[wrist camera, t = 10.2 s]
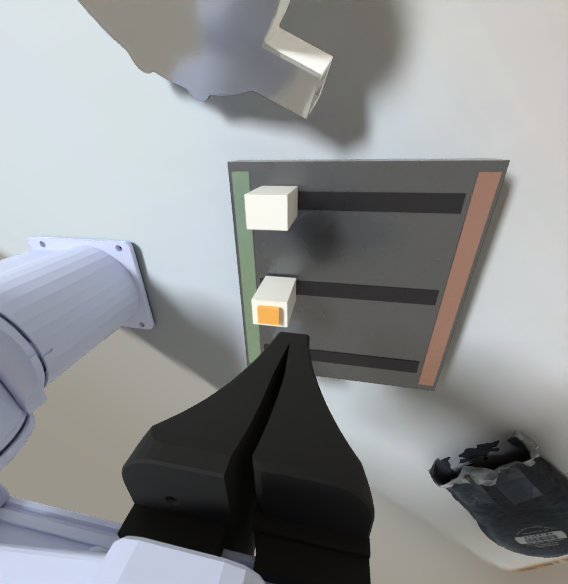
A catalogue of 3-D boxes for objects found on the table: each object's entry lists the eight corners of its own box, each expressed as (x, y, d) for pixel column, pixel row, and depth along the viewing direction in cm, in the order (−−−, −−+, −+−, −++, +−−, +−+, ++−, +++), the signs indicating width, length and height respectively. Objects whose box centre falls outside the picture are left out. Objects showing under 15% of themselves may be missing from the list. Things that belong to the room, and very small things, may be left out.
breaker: (263, 214, 16) (246, 229, 13) (262, 185, 15) (244, 194, 13) (297, 215, 16) (287, 230, 13) (297, 185, 15) (287, 195, 12)
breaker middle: (266, 297, 19) (251, 326, 16) (265, 275, 18) (249, 302, 15) (296, 299, 18) (286, 330, 15) (296, 278, 18) (286, 305, 15)
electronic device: (413, 445, 28) (501, 543, 30) (430, 498, 23) (536, 615, 24) (503, 401, 25) (596, 513, 27) (545, 451, 20) (659, 587, 21)
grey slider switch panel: (254, 351, 24) (247, 367, 22) (239, 160, 17) (227, 161, 15) (427, 371, 22) (434, 391, 20) (490, 158, 15) (510, 160, 13)
